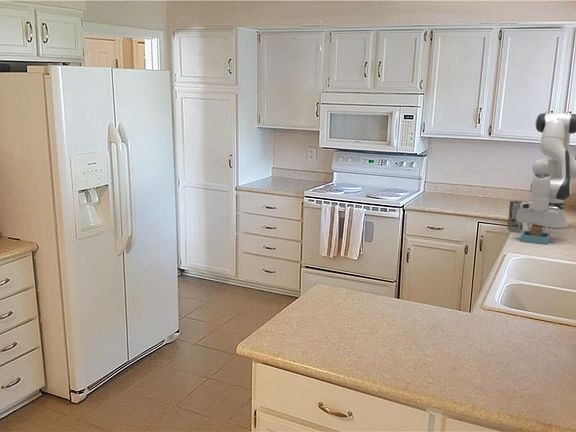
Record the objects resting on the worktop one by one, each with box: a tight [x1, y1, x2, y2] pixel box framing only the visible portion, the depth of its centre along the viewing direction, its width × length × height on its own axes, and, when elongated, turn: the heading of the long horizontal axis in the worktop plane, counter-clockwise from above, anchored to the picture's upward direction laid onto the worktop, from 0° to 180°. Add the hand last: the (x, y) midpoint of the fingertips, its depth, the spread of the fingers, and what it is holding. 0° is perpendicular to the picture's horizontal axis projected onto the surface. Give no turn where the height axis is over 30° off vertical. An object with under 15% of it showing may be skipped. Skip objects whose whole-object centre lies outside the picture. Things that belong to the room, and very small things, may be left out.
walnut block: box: [530, 224, 544, 237], centre depth 291 cm, size 5×5×5 cm
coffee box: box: [507, 200, 524, 233], centre depth 315 cm, size 9×6×16 cm
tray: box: [520, 230, 551, 245], centre depth 291 cm, size 13×13×4 cm
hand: (536, 232), depth 291 cm, fingers closed on walnut block, 5 cm apart
